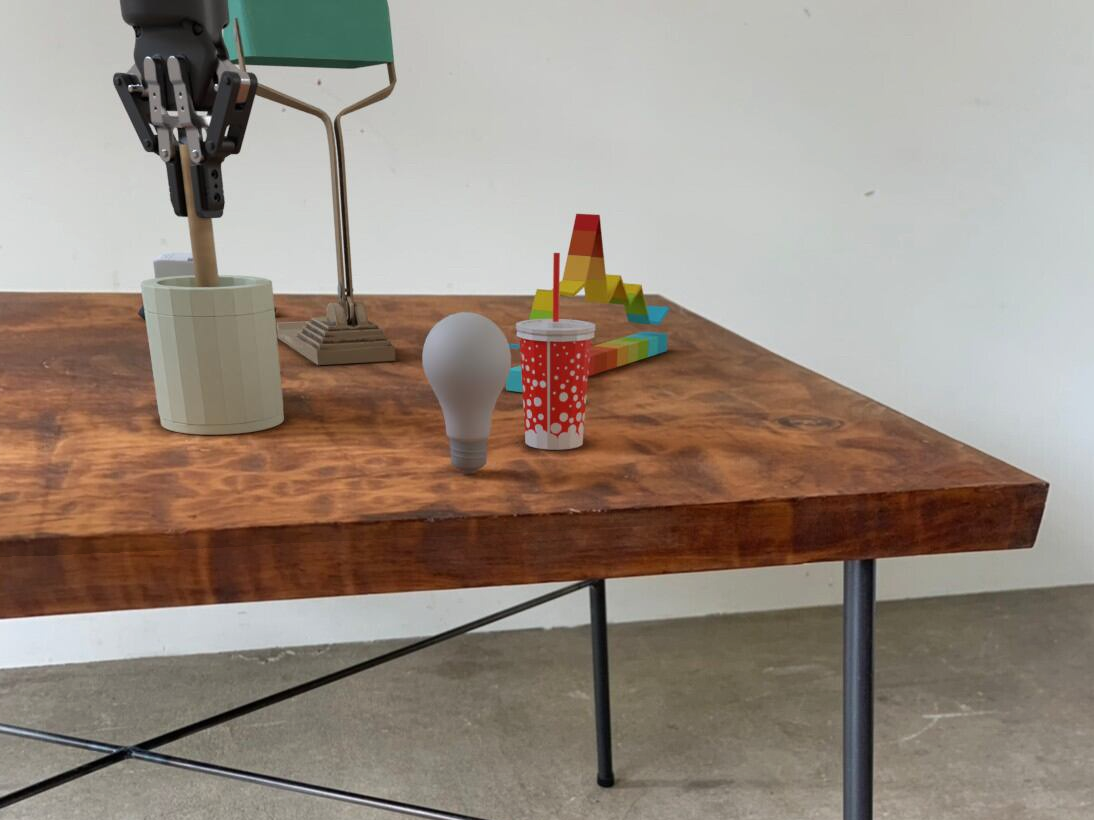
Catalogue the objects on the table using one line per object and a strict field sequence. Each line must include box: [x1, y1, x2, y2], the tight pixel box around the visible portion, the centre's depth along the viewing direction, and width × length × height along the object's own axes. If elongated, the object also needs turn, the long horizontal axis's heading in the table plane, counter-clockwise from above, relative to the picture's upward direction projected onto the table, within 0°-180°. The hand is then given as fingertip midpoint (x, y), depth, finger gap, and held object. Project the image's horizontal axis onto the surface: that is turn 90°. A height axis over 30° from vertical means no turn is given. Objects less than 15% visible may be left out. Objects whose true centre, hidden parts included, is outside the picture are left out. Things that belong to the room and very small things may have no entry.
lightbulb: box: [421, 311, 512, 475], centre depth 81 cm, size 6×6×11 cm
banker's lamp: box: [222, 0, 398, 366], centre depth 123 cm, size 16×21×35 cm
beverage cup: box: [515, 252, 596, 451], centre depth 89 cm, size 6×6×14 cm
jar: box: [140, 274, 285, 436], centre depth 95 cm, size 10×10×11 cm
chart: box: [505, 213, 670, 393], centre depth 119 cm, size 30×3×15 cm, turn 150°
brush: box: [179, 144, 220, 287], centre depth 91 cm, size 4×4×16 cm
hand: (199, 216), depth 90 cm, fingers closed on brush, 2 cm apart
